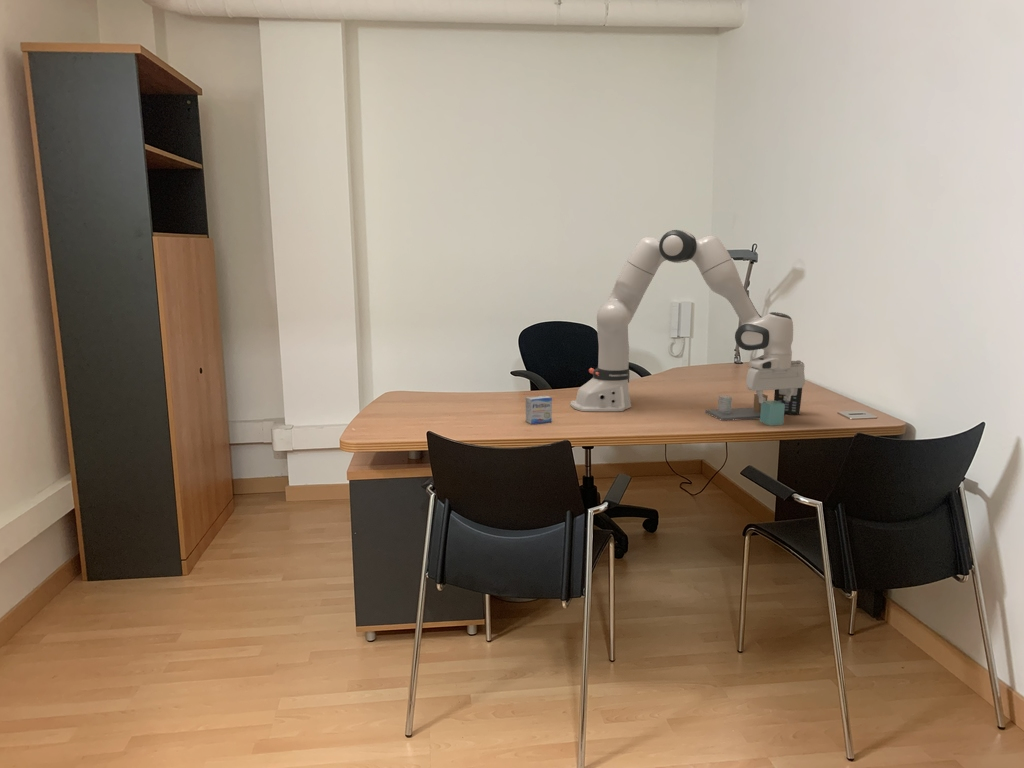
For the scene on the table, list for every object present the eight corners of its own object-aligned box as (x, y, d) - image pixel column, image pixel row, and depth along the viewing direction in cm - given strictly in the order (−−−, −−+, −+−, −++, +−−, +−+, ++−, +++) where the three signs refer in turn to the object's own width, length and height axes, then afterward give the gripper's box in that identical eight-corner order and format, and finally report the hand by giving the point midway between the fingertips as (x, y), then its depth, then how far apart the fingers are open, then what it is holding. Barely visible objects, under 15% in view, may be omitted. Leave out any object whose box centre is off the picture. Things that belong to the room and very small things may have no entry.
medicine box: (530, 424, 240) (531, 399, 238) (525, 421, 244) (525, 396, 242) (551, 422, 243) (552, 397, 242) (546, 419, 247) (546, 394, 246)
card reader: (772, 413, 258) (775, 372, 255) (773, 410, 261) (776, 370, 258) (799, 415, 254) (803, 374, 251) (800, 413, 258) (803, 372, 255)
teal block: (768, 425, 241) (770, 404, 240) (759, 421, 246) (761, 401, 245) (783, 424, 242) (784, 404, 241) (773, 420, 247) (775, 400, 246)
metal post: (722, 414, 251) (723, 397, 250) (717, 412, 254) (718, 395, 253) (730, 414, 252) (731, 397, 251) (725, 411, 255) (727, 395, 254)
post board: (722, 420, 247) (723, 400, 245) (705, 412, 258) (706, 393, 256) (779, 417, 252) (781, 398, 250) (760, 409, 263) (761, 390, 262)
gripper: (798, 358, 245) (795, 398, 248) (744, 361, 241) (742, 401, 243) (810, 361, 239) (807, 402, 242) (755, 364, 235) (752, 405, 237)
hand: (774, 402), depth 243 cm, fingers open, 8 cm apart
